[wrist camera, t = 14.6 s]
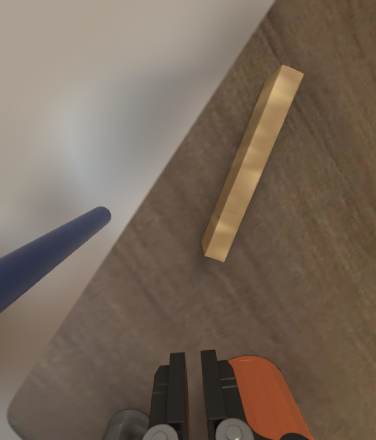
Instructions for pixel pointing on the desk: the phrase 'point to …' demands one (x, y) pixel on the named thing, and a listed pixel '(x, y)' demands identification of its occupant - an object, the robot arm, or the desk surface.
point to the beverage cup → (127, 426)
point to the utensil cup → (267, 398)
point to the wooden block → (250, 160)
